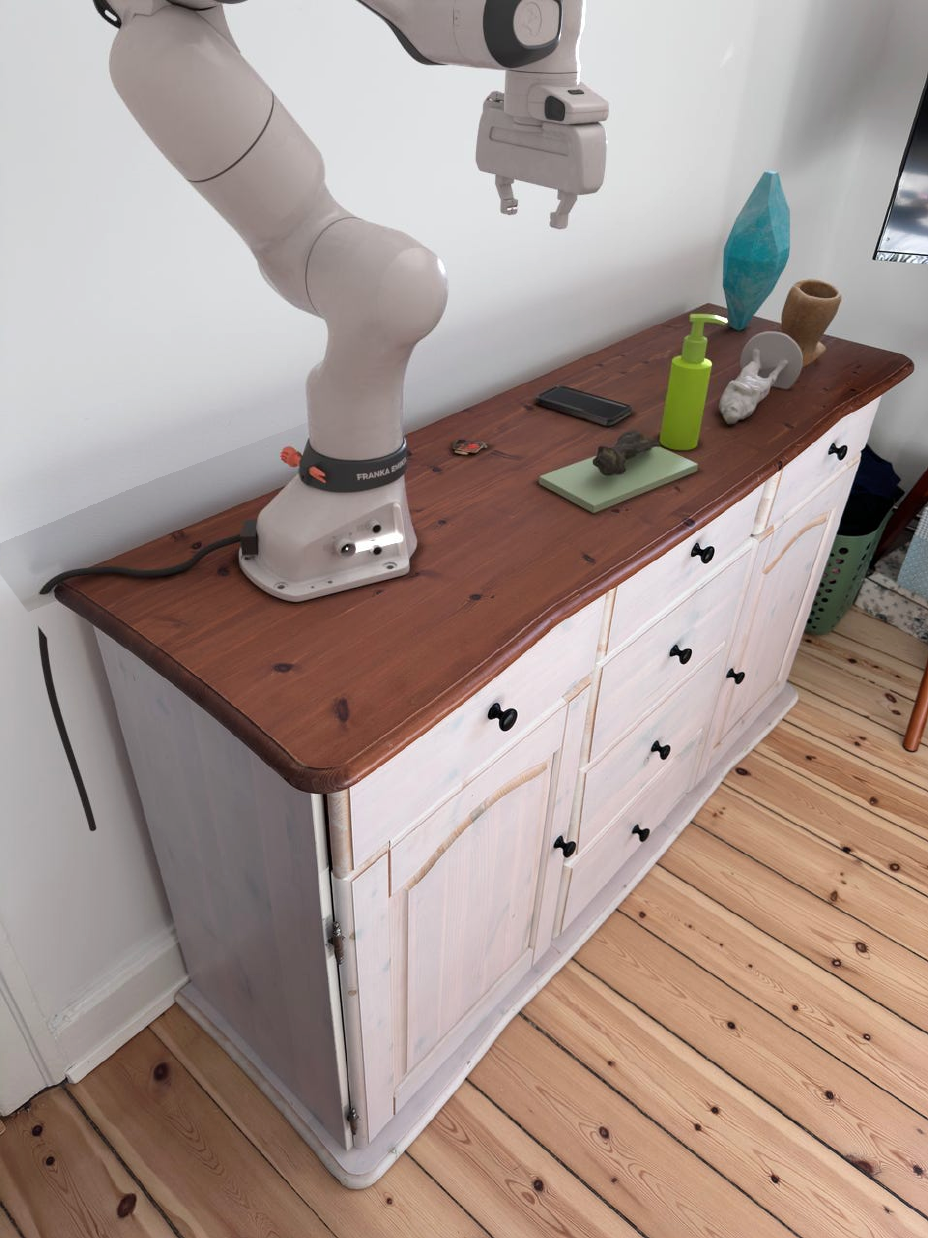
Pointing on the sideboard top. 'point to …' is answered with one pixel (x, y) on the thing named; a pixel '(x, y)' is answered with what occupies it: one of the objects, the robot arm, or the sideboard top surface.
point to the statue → (622, 452)
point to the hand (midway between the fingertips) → (532, 220)
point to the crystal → (756, 250)
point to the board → (617, 478)
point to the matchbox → (467, 446)
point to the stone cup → (809, 315)
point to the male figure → (761, 373)
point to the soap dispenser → (688, 388)
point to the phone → (584, 405)
